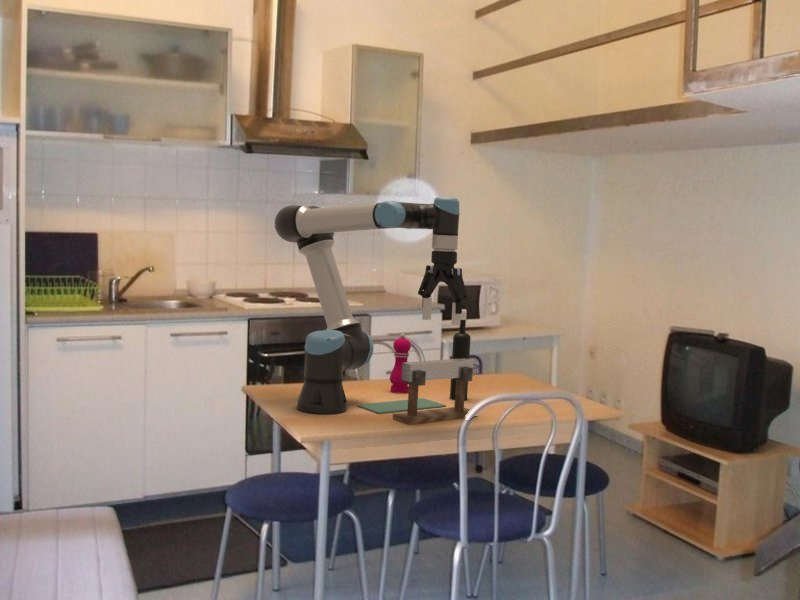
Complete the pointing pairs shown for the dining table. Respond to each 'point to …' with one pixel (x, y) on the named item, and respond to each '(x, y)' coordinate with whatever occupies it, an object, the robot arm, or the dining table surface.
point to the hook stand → (436, 414)
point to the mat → (398, 406)
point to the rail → (436, 369)
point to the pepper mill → (400, 364)
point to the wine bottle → (460, 351)
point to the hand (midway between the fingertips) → (440, 322)
